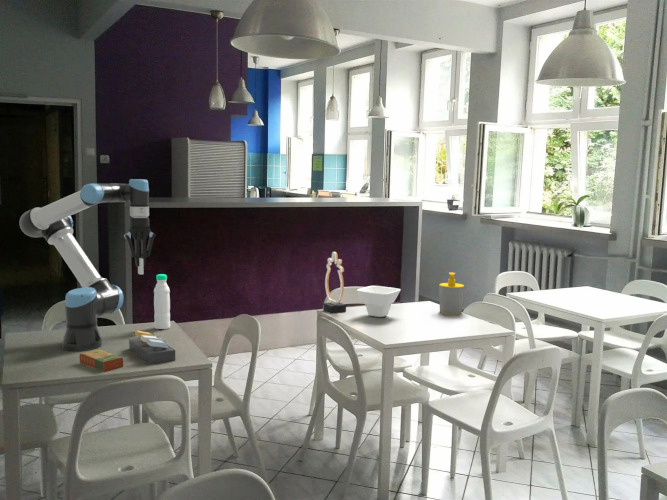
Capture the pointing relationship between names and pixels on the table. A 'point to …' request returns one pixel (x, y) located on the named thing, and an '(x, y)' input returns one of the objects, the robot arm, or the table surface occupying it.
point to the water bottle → (161, 303)
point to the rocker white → (145, 338)
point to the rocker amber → (143, 333)
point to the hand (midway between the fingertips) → (140, 273)
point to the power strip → (151, 351)
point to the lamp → (336, 305)
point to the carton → (101, 360)
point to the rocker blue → (157, 343)
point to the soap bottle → (451, 296)
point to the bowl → (378, 299)
